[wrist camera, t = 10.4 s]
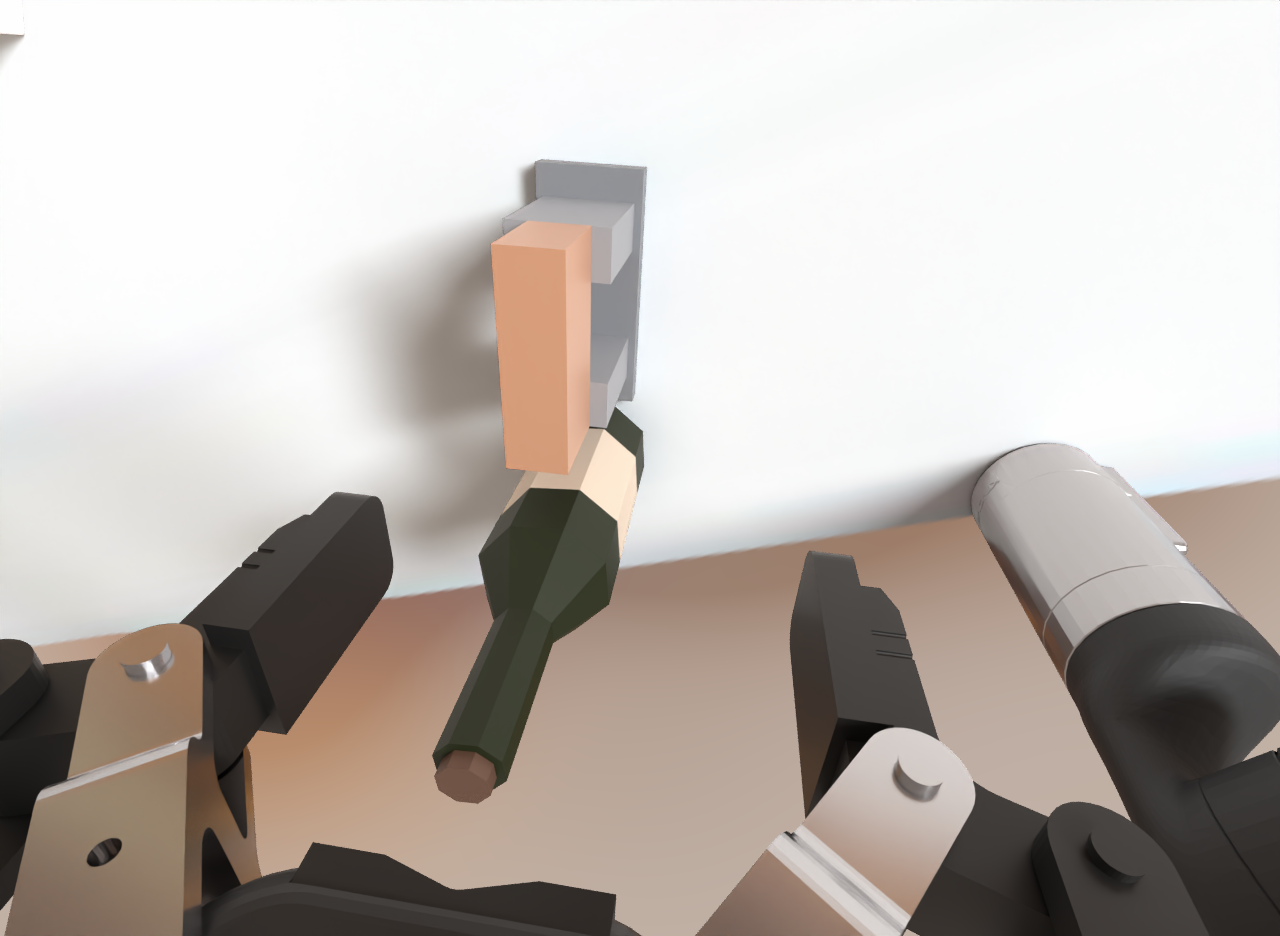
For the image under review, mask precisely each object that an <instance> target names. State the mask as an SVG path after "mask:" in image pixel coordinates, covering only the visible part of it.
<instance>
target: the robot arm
mask: <svg viewBox="0 0 1280 936" xmlns="http://www.w3.org/2000/svg"><path fill="white" fill-rule="evenodd" d="M971 508H972V513H973V516H974V519H975V521H976V523H977V524H978V526H979V528H980V530H981V532H982V533H983V535H984V537H985V539H986V541H987V543H988V545H989V546H990V549H991V551H992V552H993V554H994V556H995V557H996V560H997V561H998V563H999V565H1000V567H1001V569H1002V571H1003V572H1004V574H1005V576H1006V578H1007V580H1008V582H1009V583H1010V585H1011V587H1012V589H1013V590H1014V592H1015V594H1016V596H1017V598H1018V600H1019V602H1020V603H1021V605H1022V607H1023V609H1024V611H1025V613H1026V615H1027V616H1028V618H1029V620H1030V622H1031V624H1032V625H1033V627H1034V629H1035V631H1036V633H1037V635H1038V636H1039V638H1040V640H1041V642H1042V644H1043V646H1044V648H1045V649H1046V651H1047V653H1048V655H1049V656H1050V658H1051V660H1052V662H1053V664H1054V665H1055V667H1056V669H1057V671H1058V673H1059V675H1060V677H1061V678H1062V680H1063V682H1064V684H1065V686H1066V688H1067V689H1068V691H1069V693H1070V695H1071V697H1072V699H1073V700H1074V702H1075V704H1076V706H1077V708H1078V710H1079V712H1080V715H1081V717H1082V721H1083V723H1084V725H1085V727H1086V729H1087V732H1088V733H1089V736H1090V738H1091V740H1092V742H1093V743H1094V745H1095V747H1096V749H1097V751H1098V753H1099V755H1100V757H1101V759H1102V760H1103V762H1104V764H1105V766H1106V768H1107V770H1108V772H1109V775H1110V777H1111V779H1112V781H1113V783H1114V785H1115V787H1116V789H1117V791H1118V793H1119V795H1120V797H1121V800H1122V801H1123V804H1124V806H1125V808H1126V810H1127V812H1128V815H1129V817H1130V819H1131V821H1132V822H1131V821H1129V820H1128V819H1126V818H1125V817H1123V816H1121V815H1119V814H1117V813H1116V812H1113V811H1112V810H1109V809H1107V808H1104V807H1102V806H1099V805H1095V804H1091V803H1085V802H1070V803H1066V804H1062V805H1061V806H1059V807H1057V808H1056V809H1055V810H1054V811H1053V812H1052V813H1051V815H1050V816H1049V817H1047V816H1045V815H1042V814H1040V813H1038V812H1035V811H1033V810H1030V809H1028V808H1026V807H1024V806H1021V805H1019V804H1017V803H1014V802H1012V801H1010V800H1007V799H1005V798H1002V797H1000V796H998V795H996V794H994V793H992V792H990V791H988V790H986V789H985V788H983V787H981V786H980V785H978V784H977V783H975V782H974V781H972V778H971V776H970V774H969V772H968V770H967V769H966V767H965V765H964V764H963V762H962V761H961V760H960V759H959V758H958V757H957V755H956V754H955V753H954V752H952V751H951V750H950V749H949V748H948V747H947V746H945V745H944V744H943V743H941V742H940V741H939V739H938V736H937V733H936V730H935V727H934V723H933V720H932V717H931V713H930V710H929V707H928V704H927V701H926V697H925V694H924V690H923V687H922V684H921V681H920V677H919V674H918V671H917V668H916V664H915V661H914V660H912V655H913V654H912V651H911V648H910V645H909V641H908V640H907V639H906V632H905V628H904V625H903V622H902V619H901V615H900V612H899V610H898V609H897V608H896V606H895V605H894V604H893V603H892V601H891V600H890V599H889V598H888V597H887V595H886V594H885V593H884V592H883V591H882V590H881V589H880V588H874V587H865V586H860V583H859V579H858V574H857V570H856V566H855V562H854V559H853V557H852V556H849V555H840V554H832V553H824V552H815V551H809V552H808V554H807V556H806V559H805V564H804V568H803V572H802V576H801V581H800V584H799V589H798V593H797V597H796V602H795V606H794V610H793V614H792V620H791V629H790V653H791V664H792V676H793V687H794V698H795V709H796V719H797V731H798V742H799V753H800V764H801V775H802V785H803V797H804V808H805V820H804V822H803V823H802V824H801V825H800V826H799V828H798V829H797V830H796V831H795V832H793V833H792V834H790V833H789V832H787V831H786V832H784V833H782V834H781V835H780V836H778V837H777V838H776V839H775V840H774V841H773V842H772V843H771V844H770V846H769V847H768V848H767V849H766V850H765V852H764V853H763V854H762V855H761V856H760V858H759V859H758V860H757V861H756V862H755V864H754V865H753V866H752V867H751V869H750V870H749V871H748V872H747V873H746V875H745V876H744V877H743V878H742V879H741V881H740V882H739V883H738V884H737V886H736V887H735V888H734V889H733V890H732V892H731V893H730V894H729V895H728V896H727V898H726V899H725V900H724V901H723V903H722V904H721V905H720V906H719V907H718V909H717V910H716V911H715V912H714V913H713V915H712V916H711V917H710V918H709V920H708V921H707V922H706V923H705V924H704V926H703V927H702V928H701V929H700V930H699V932H698V933H697V934H696V935H695V936H903V935H904V933H905V931H906V929H908V930H910V931H912V932H914V933H916V934H918V935H920V936H1280V748H1278V749H1277V752H1276V751H1273V750H1272V751H1269V752H1267V753H1264V754H1262V755H1259V756H1256V757H1254V758H1251V759H1248V760H1246V761H1243V760H1244V759H1245V757H1246V756H1247V755H1248V754H1249V753H1250V752H1251V751H1252V750H1253V749H1254V748H1255V747H1256V746H1257V745H1258V744H1259V743H1260V741H1261V740H1262V739H1263V738H1264V737H1265V736H1266V735H1267V734H1268V733H1269V732H1270V731H1271V730H1272V729H1273V728H1274V727H1275V725H1276V724H1277V723H1278V722H1279V720H1280V656H1279V655H1278V653H1277V652H1276V651H1275V650H1274V649H1273V647H1272V646H1271V645H1270V644H1269V643H1268V642H1267V640H1266V639H1265V638H1264V637H1263V636H1262V635H1261V634H1260V633H1259V632H1258V631H1257V630H1256V629H1255V628H1254V627H1253V626H1252V625H1251V624H1250V623H1249V622H1248V621H1247V620H1246V619H1245V618H1244V617H1243V616H1242V615H1241V614H1240V613H1239V611H1237V609H1236V608H1235V607H1234V606H1233V605H1232V604H1231V603H1230V602H1229V601H1228V600H1227V599H1226V598H1225V597H1224V596H1223V595H1222V594H1221V593H1220V591H1218V589H1217V588H1216V587H1215V586H1214V585H1213V584H1212V583H1211V582H1210V581H1209V580H1208V579H1207V578H1206V577H1205V576H1204V575H1203V574H1202V573H1201V572H1200V571H1199V570H1198V569H1197V568H1196V567H1195V566H1194V565H1193V564H1192V562H1190V561H1189V559H1188V558H1187V557H1186V556H1185V555H1186V553H1187V551H1188V546H1187V544H1186V542H1185V541H1184V540H1183V539H1182V538H1181V537H1180V536H1179V535H1178V534H1177V533H1176V532H1175V531H1174V529H1173V528H1172V527H1171V526H1170V525H1168V523H1166V521H1165V520H1164V519H1163V518H1162V517H1161V516H1160V515H1159V514H1158V513H1157V512H1156V511H1155V510H1154V509H1153V508H1152V507H1151V506H1150V505H1149V504H1148V503H1147V502H1146V501H1145V500H1144V499H1143V498H1142V497H1141V496H1140V495H1139V494H1138V493H1137V492H1136V491H1135V490H1134V489H1133V488H1132V487H1131V486H1130V485H1129V484H1128V483H1127V482H1126V481H1125V480H1124V479H1123V478H1122V477H1121V476H1120V474H1119V473H1118V472H1117V471H1116V470H1115V469H1114V468H1109V467H1103V466H1100V465H1099V464H1097V463H1096V462H1095V461H1094V460H1093V459H1092V458H1091V457H1090V456H1089V455H1088V454H1086V453H1085V452H1083V451H1081V450H1080V449H1078V448H1074V447H1071V446H1068V445H1063V444H1054V443H1049V444H1037V445H1032V446H1028V447H1023V448H1021V449H1018V450H1016V451H1013V452H1011V453H1009V454H1007V455H1005V456H1004V457H1002V458H1000V459H999V460H997V461H996V462H995V463H994V464H992V465H991V466H990V467H989V468H988V469H987V470H986V471H985V472H984V474H983V475H982V476H981V477H980V478H979V480H978V482H977V484H976V486H975V488H974V491H973V495H972V499H971ZM392 573H393V557H392V552H391V546H390V541H389V536H388V530H387V525H386V519H385V514H384V509H383V505H382V502H381V500H380V499H379V498H378V497H376V496H368V495H359V494H351V493H343V492H336V493H333V494H332V495H331V496H329V497H328V498H327V499H326V500H325V501H324V502H323V503H322V504H321V505H320V506H319V507H318V508H317V509H316V510H315V511H314V512H313V513H312V514H311V515H303V516H301V517H299V518H297V519H296V520H294V521H292V522H290V523H288V524H286V525H285V526H283V527H281V528H279V529H277V530H276V531H275V532H274V533H273V534H272V535H271V536H270V537H269V538H268V539H267V540H266V541H265V542H264V543H263V544H262V545H261V546H260V547H258V551H257V552H253V553H252V554H251V555H250V556H249V557H248V558H247V559H246V560H245V561H244V562H243V563H242V567H238V568H237V569H235V570H234V571H233V572H232V573H231V574H230V575H229V576H228V577H227V578H226V579H225V580H224V581H223V582H222V583H221V584H220V585H219V586H218V587H217V588H216V589H215V590H214V591H212V592H211V593H210V594H209V595H208V596H207V597H206V598H205V599H204V600H203V601H202V602H201V603H200V604H199V605H198V606H197V607H196V608H195V609H194V610H193V611H192V612H191V613H189V614H188V615H187V616H186V617H185V618H184V619H183V620H182V621H181V622H180V623H179V624H177V623H174V624H161V625H156V626H152V627H148V628H145V629H142V630H139V631H136V632H134V633H132V634H129V635H127V636H125V637H123V638H122V639H120V640H118V641H117V642H115V643H113V644H112V645H111V646H109V647H108V648H107V649H105V650H104V651H103V652H102V653H101V654H100V655H99V656H98V657H97V658H96V659H88V660H79V661H71V662H63V663H53V664H44V665H42V664H41V662H40V660H39V658H38V657H37V655H36V653H35V652H34V650H33V649H32V647H31V646H30V645H29V644H28V643H26V642H24V641H21V640H15V639H1V640H0V910H1V909H2V908H3V907H4V906H5V904H6V903H7V902H8V901H9V900H10V898H11V897H12V896H13V895H14V896H13V900H12V905H11V909H10V913H9V918H8V922H7V927H6V931H5V936H641V935H639V934H638V933H637V932H635V931H634V930H633V929H631V928H630V927H628V926H626V925H624V924H622V923H620V922H618V921H616V920H615V905H616V894H609V893H604V892H598V891H592V890H587V889H581V888H574V887H569V886H563V885H558V884H552V883H546V882H540V881H538V882H530V883H520V884H511V885H501V886H492V887H483V888H474V889H464V890H455V889H450V888H448V887H445V886H443V885H441V884H440V883H438V882H436V881H434V880H432V879H430V878H428V877H426V876H424V875H422V874H420V873H419V872H417V871H415V870H413V869H411V868H409V867H407V866H405V865H403V864H401V863H400V862H398V861H396V860H394V859H392V858H390V857H388V856H386V855H383V854H378V853H371V852H366V851H360V850H355V849H349V848H342V847H336V846H331V845H325V844H320V843H314V842H313V843H312V845H311V847H310V848H309V850H308V852H307V854H306V855H305V857H304V859H303V861H302V863H301V865H300V866H299V868H295V869H289V870H285V871H281V872H276V873H272V874H269V875H266V876H263V877H262V876H261V872H260V868H259V864H258V857H257V850H256V834H255V818H254V804H253V789H252V788H253V787H252V771H251V757H250V752H249V749H248V747H247V744H248V743H249V741H250V740H251V739H252V737H253V736H254V735H255V733H256V732H257V731H258V730H259V731H266V732H272V733H279V734H285V735H286V734H287V733H288V731H289V730H290V729H291V727H292V726H293V724H294V723H295V721H296V720H297V718H298V717H299V716H300V714H301V713H302V711H303V710H304V708H305V707H306V706H307V704H308V703H309V701H310V700H311V699H312V697H313V696H314V694H315V693H316V691H317V690H318V688H319V687H320V686H321V684H322V683H323V681H324V680H325V679H326V677H327V676H328V674H329V673H330V671H331V670H332V668H333V667H334V666H335V664H336V663H337V661H338V660H339V658H340V657H341V656H342V654H343V653H344V651H345V650H346V649H347V647H348V646H349V644H350V643H351V641H352V640H353V638H354V637H355V636H356V634H357V633H358V631H359V630H360V629H361V627H362V626H363V624H364V623H365V621H366V620H367V619H368V617H369V616H370V614H371V613H372V611H373V610H374V609H375V607H376V606H377V604H378V603H379V601H380V600H381V599H382V597H383V596H384V594H385V593H386V591H387V589H388V587H389V585H390V582H391V578H392ZM1242 761H1243V762H1242Z"/></svg>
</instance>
